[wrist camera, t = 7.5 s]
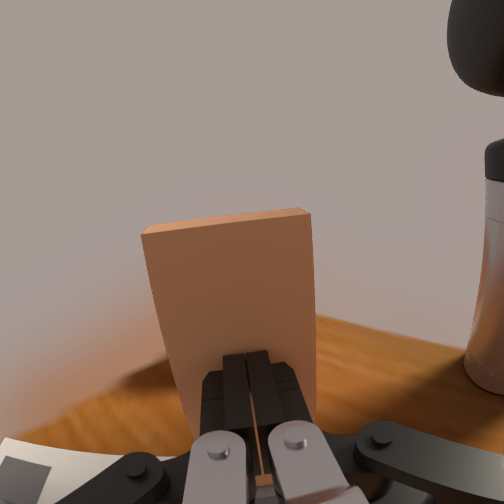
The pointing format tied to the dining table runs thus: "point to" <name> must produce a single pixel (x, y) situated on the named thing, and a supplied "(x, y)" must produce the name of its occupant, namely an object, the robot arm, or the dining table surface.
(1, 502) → the graphite paddle
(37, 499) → the switch console
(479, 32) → the robot arm
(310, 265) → the orange block
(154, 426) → the dining table surface
